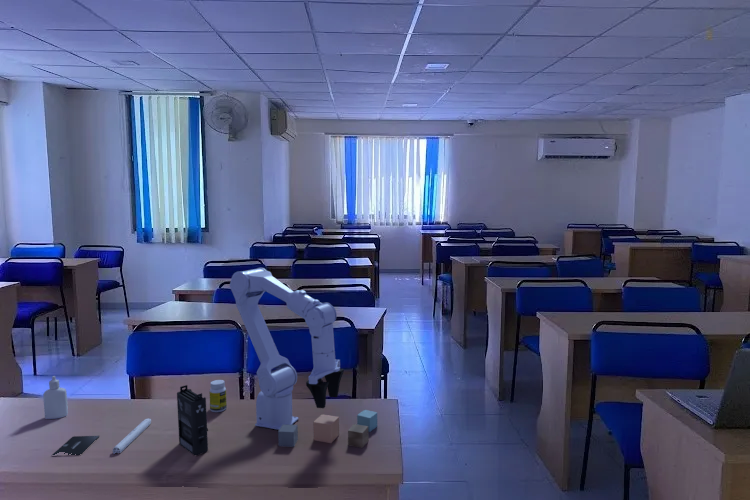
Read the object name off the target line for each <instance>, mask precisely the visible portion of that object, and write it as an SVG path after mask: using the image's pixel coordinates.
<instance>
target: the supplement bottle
mask: <svg viewBox="0 0 750 500" xmlns="http://www.w3.org/2000/svg"><path fill="white" fill-rule="evenodd" d="M226 410H227V388H226V383H225V380H223V379H215V380H212V381H210V389H209V411H210V412H212V413H221V412H224V411H226Z"/></svg>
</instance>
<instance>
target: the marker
mask: <svg viewBox="0 0 750 500" xmlns="http://www.w3.org/2000/svg"><path fill="white" fill-rule="evenodd" d="M151 423H152V419H151V418H145V419H144V420H142V421H141V422H140V423H139V424H137V426H136V427H135V428H134V429H132V430H131V431H130V432H129V433H128V434H127V435H126V436H125V437H123V439H121V441H119V443H117V444H116V445H115V446H114V447H113V448H112V453H113V454H115V453H116V454H118V453H120V454H121V453H122V452H123V451H124V450H125V449H126V448H127V447H129V446H130V445H131V443H133V441H134V440H136V439H137V438H138V437H139V436H140V435H141V434H142V433H143V432H144V431H145V430H146V429H148V427H149V426H150V425H151Z"/></svg>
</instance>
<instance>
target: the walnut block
mask: <svg viewBox="0 0 750 500" xmlns="http://www.w3.org/2000/svg"><path fill="white" fill-rule="evenodd" d="M367 443H369V432H368V426H364V425H357V424H356V423H354V424H352V425H351V426H350V427H349V429H348V430H347V446H350V447H355V448H360V449H361V448H362V449H364V447H365V446H366V444H367Z"/></svg>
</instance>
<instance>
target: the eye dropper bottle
mask: <svg viewBox="0 0 750 500" xmlns="http://www.w3.org/2000/svg"><path fill="white" fill-rule="evenodd" d="M48 384H49V385H48V386H49V388H48V389H46V390H45V391H44V393H43V397H42V399H43V410H44V419H46V420H54V419H55V420H56V419H61V418H64V417H66V416H67V415H68V414H69V408H68V405H69V404H68V395H67V394H68V393H67V389H66V388H65V387H60V379H57V378H56V375H52V377H51V380H50V381H49V382H48Z"/></svg>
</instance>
